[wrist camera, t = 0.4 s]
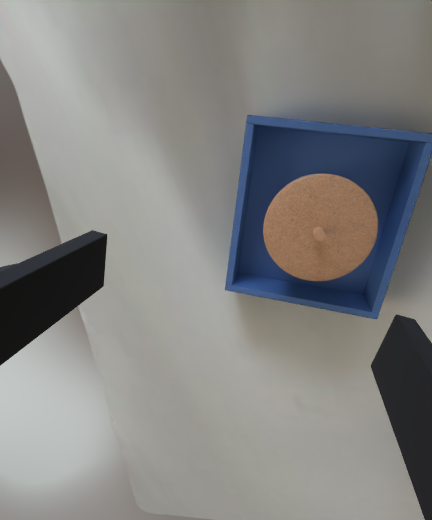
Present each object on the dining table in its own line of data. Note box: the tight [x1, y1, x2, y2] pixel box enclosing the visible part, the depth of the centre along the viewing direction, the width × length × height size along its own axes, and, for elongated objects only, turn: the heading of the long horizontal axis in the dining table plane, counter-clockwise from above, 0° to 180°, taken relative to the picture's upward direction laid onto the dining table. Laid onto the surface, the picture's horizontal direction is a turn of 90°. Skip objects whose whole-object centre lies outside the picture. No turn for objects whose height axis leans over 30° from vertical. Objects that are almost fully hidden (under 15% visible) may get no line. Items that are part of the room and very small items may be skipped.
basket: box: [225, 115, 432, 319], centre depth 36 cm, size 20×18×5 cm
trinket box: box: [263, 173, 378, 281], centre depth 34 cm, size 11×11×9 cm
